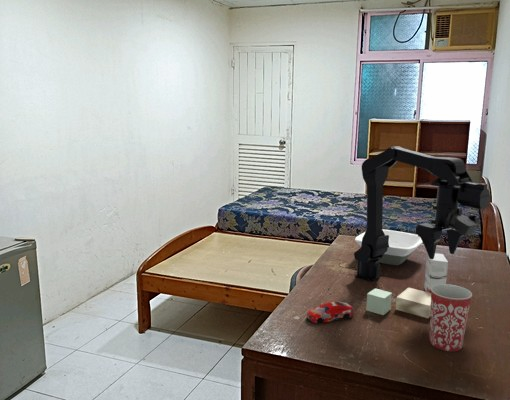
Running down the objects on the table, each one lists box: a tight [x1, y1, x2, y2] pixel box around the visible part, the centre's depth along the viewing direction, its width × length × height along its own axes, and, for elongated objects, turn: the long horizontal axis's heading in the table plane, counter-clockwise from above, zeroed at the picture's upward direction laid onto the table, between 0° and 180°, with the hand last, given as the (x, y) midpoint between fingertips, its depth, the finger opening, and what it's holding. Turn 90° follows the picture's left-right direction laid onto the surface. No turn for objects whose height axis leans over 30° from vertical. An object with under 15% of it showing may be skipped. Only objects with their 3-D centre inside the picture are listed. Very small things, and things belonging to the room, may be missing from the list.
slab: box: [395, 287, 431, 319], centre depth 129 cm, size 9×9×4 cm
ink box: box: [423, 252, 449, 293], centre depth 139 cm, size 9×5×12 cm, turn 168°
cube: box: [365, 288, 393, 316], centre depth 128 cm, size 5×5×5 cm
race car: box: [306, 301, 355, 325], centre depth 123 cm, size 13×5×4 cm, turn 110°
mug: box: [429, 283, 473, 352], centre depth 110 cm, size 13×9×14 cm
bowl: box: [354, 228, 423, 266], centre depth 171 cm, size 22×23×8 cm
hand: (441, 256), depth 132 cm, fingers open, 9 cm apart
